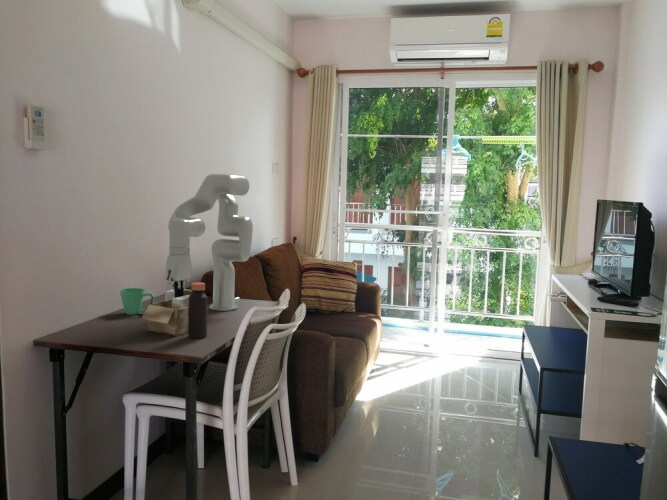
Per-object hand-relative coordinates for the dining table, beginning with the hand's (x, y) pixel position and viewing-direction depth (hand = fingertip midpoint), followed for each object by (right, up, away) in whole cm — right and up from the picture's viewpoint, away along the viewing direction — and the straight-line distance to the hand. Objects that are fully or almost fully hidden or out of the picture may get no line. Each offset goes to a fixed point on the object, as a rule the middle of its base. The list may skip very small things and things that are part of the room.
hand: (179, 298), depth 215 cm
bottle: (+9, -14, -9) cm, 19 cm away
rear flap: (+2, +1, +5) cm, 5 cm away
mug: (-24, -9, +22) cm, 33 cm away
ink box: (-5, -10, +18) cm, 21 cm away
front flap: (-5, -5, -10) cm, 12 cm away
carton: (-1, -12, 0) cm, 12 cm away
